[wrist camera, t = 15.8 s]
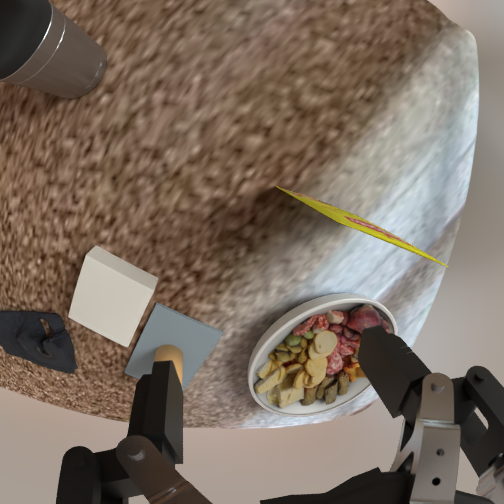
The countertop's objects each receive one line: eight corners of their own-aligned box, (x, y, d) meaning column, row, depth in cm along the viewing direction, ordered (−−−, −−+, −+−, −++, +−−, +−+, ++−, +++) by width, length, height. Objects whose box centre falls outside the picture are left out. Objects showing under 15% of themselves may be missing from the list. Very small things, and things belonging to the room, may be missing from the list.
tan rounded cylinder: (151, 358, 45) (145, 395, 37) (161, 340, 44) (155, 377, 36) (176, 368, 47) (174, 406, 38) (188, 351, 45) (186, 389, 37)
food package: (363, 215, 42) (450, 263, 24) (360, 222, 43) (446, 272, 24) (276, 182, 38) (340, 215, 20) (273, 190, 39) (334, 229, 20)
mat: (124, 370, 46) (124, 372, 45) (157, 302, 42) (156, 304, 41) (180, 392, 50) (180, 394, 49) (222, 331, 46) (223, 333, 45)
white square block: (76, 304, 40) (68, 317, 36) (95, 245, 37) (86, 254, 34) (132, 333, 43) (127, 347, 40) (158, 278, 41) (154, 290, 37)
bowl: (337, 404, 60) (348, 427, 52) (221, 390, 51) (225, 420, 44) (408, 305, 52) (429, 325, 44) (289, 262, 43) (305, 285, 36)
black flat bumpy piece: (-12, 295, 36) (-24, 307, 32) (67, 312, 41) (57, 327, 36) (7, 353, 41) (-1, 365, 37) (83, 373, 46) (76, 389, 41)
